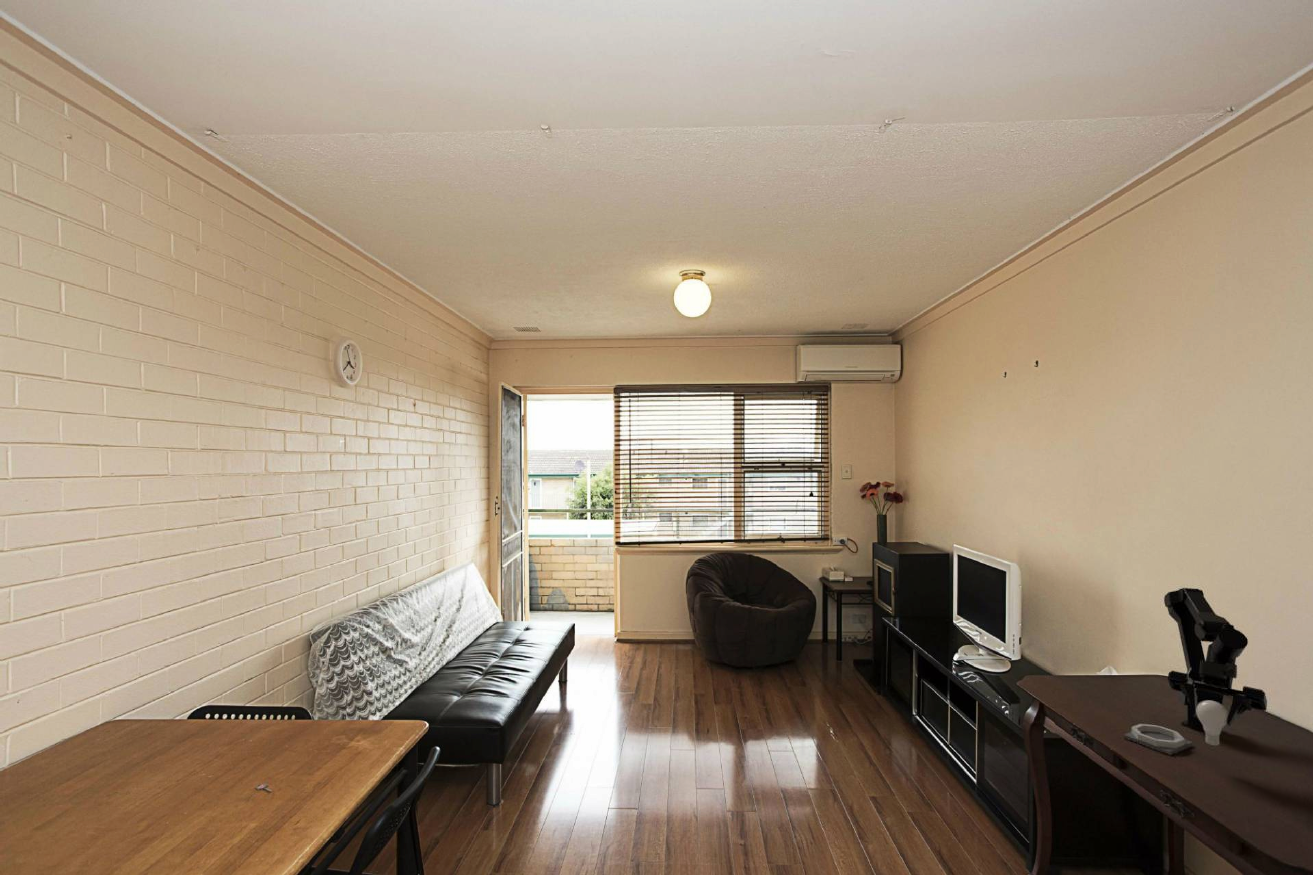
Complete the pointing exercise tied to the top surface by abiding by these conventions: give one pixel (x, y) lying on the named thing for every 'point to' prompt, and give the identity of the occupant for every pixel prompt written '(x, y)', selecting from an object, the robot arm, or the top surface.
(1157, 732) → the bulb stand
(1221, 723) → the lightbulb
